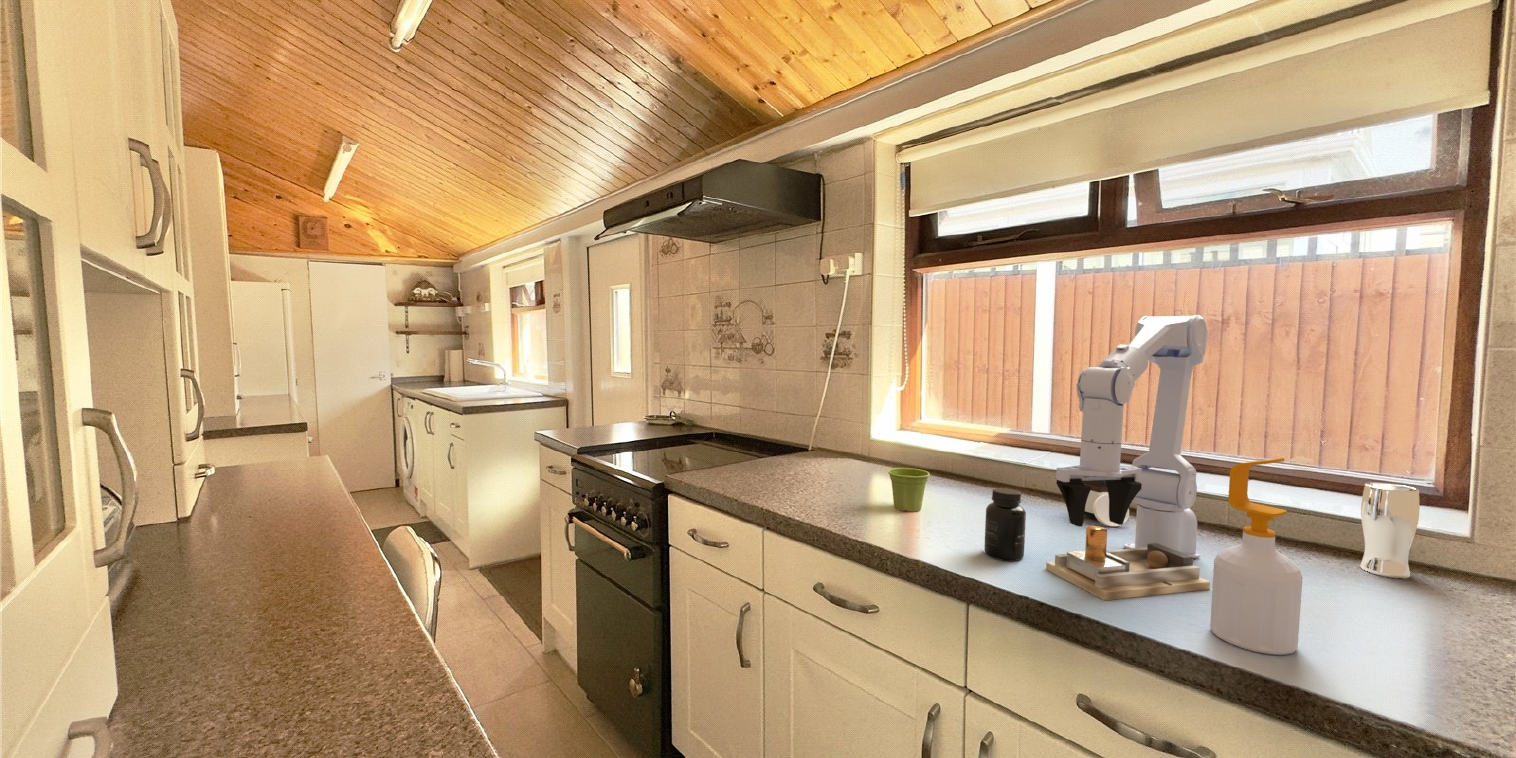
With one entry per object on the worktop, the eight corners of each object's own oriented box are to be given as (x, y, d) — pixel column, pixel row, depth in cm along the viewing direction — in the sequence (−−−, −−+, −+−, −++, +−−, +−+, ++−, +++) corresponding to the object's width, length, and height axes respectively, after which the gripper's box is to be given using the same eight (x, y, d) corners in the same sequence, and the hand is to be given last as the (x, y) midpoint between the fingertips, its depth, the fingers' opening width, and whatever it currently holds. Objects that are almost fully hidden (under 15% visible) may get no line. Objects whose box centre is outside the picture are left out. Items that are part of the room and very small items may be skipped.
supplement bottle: (1028, 563, 109) (1030, 496, 108) (987, 560, 110) (989, 494, 110) (1019, 550, 116) (1022, 487, 115) (981, 547, 117) (983, 485, 116)
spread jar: (1103, 510, 143) (1105, 461, 142) (1149, 524, 133) (1152, 471, 132) (1064, 515, 139) (1066, 464, 138) (1108, 530, 128) (1110, 475, 128)
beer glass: (1401, 568, 108) (1408, 484, 107) (1423, 582, 102) (1430, 493, 101) (1349, 562, 111) (1355, 480, 110) (1367, 575, 105) (1374, 488, 104)
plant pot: (907, 501, 150) (908, 466, 149) (937, 510, 142) (938, 473, 141) (878, 506, 145) (879, 470, 144) (907, 516, 137) (908, 478, 136)
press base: (1141, 560, 111) (1143, 537, 111) (1209, 589, 98) (1211, 563, 98) (1046, 568, 106) (1047, 545, 106) (1104, 600, 94) (1105, 573, 94)
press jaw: (1095, 563, 105) (1097, 520, 105) (1128, 579, 98) (1131, 533, 98) (1066, 566, 104) (1068, 523, 103) (1098, 582, 97) (1100, 536, 96)
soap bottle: (1276, 663, 76) (1289, 466, 74) (1195, 631, 84) (1206, 453, 82) (1310, 647, 80) (1324, 460, 78) (1231, 618, 88) (1241, 448, 86)
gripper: (1080, 445, 94) (1075, 533, 95) (1159, 444, 97) (1154, 529, 98) (1049, 438, 101) (1044, 520, 102) (1123, 437, 104) (1119, 516, 105)
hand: (1096, 523), depth 100 cm, fingers open, 7 cm apart
